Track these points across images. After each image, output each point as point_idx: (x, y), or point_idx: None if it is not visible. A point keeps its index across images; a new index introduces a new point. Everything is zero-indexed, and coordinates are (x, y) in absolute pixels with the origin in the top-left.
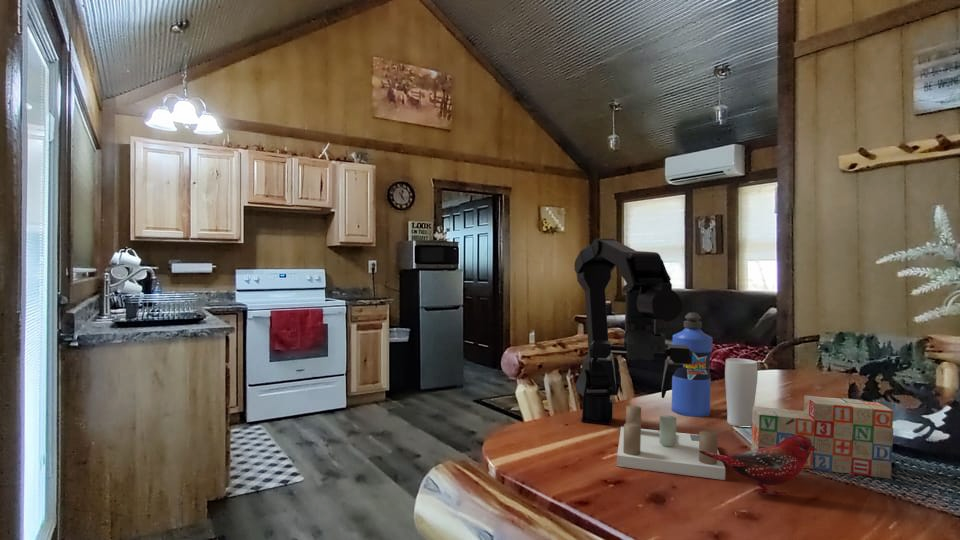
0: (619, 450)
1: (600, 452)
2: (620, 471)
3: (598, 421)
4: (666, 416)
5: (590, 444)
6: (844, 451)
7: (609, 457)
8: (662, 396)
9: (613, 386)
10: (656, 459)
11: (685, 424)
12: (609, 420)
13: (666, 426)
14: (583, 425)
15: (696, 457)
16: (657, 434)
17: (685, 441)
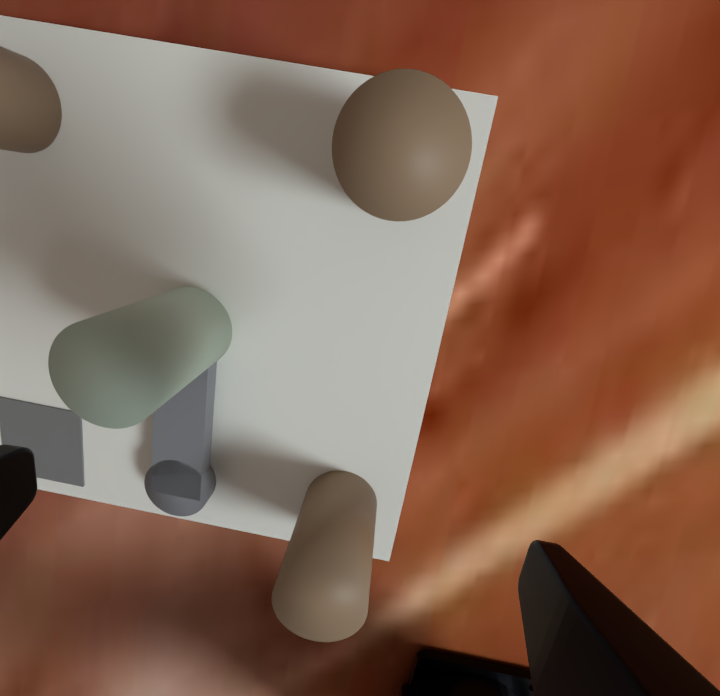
0: (467, 188)
1: (531, 304)
2: (481, 36)
3: (467, 667)
4: (114, 394)
5: (558, 407)
6: None
7: (499, 240)
8: (10, 450)
9: (608, 611)
10: (279, 72)
11: (112, 673)
12: (414, 680)
13: (146, 312)
14: None
15: (71, 158)
16: (229, 473)
17: None
